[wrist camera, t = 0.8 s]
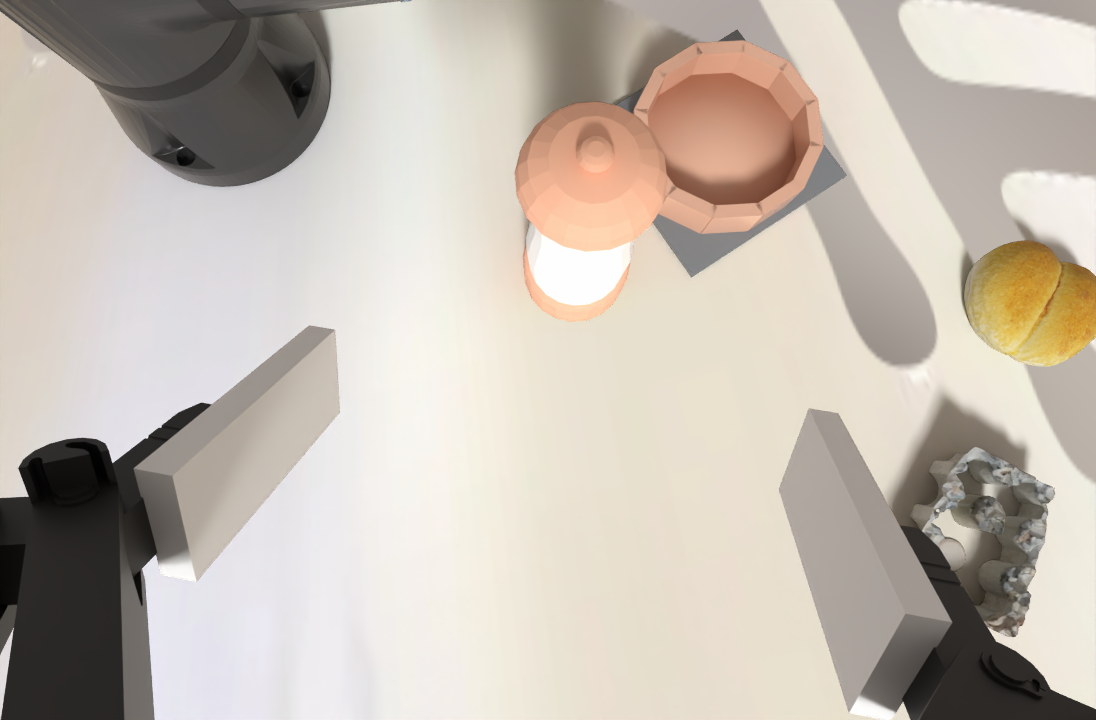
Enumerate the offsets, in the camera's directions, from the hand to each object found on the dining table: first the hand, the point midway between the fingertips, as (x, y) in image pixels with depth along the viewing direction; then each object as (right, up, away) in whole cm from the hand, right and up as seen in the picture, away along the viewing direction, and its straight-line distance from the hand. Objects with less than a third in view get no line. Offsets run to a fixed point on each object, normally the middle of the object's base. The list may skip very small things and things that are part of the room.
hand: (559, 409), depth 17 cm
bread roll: (+34, +5, +28) cm, 44 cm away
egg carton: (+28, -11, +26) cm, 39 cm away
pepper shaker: (+2, +8, +27) cm, 29 cm away
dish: (+12, +17, +28) cm, 35 cm away
